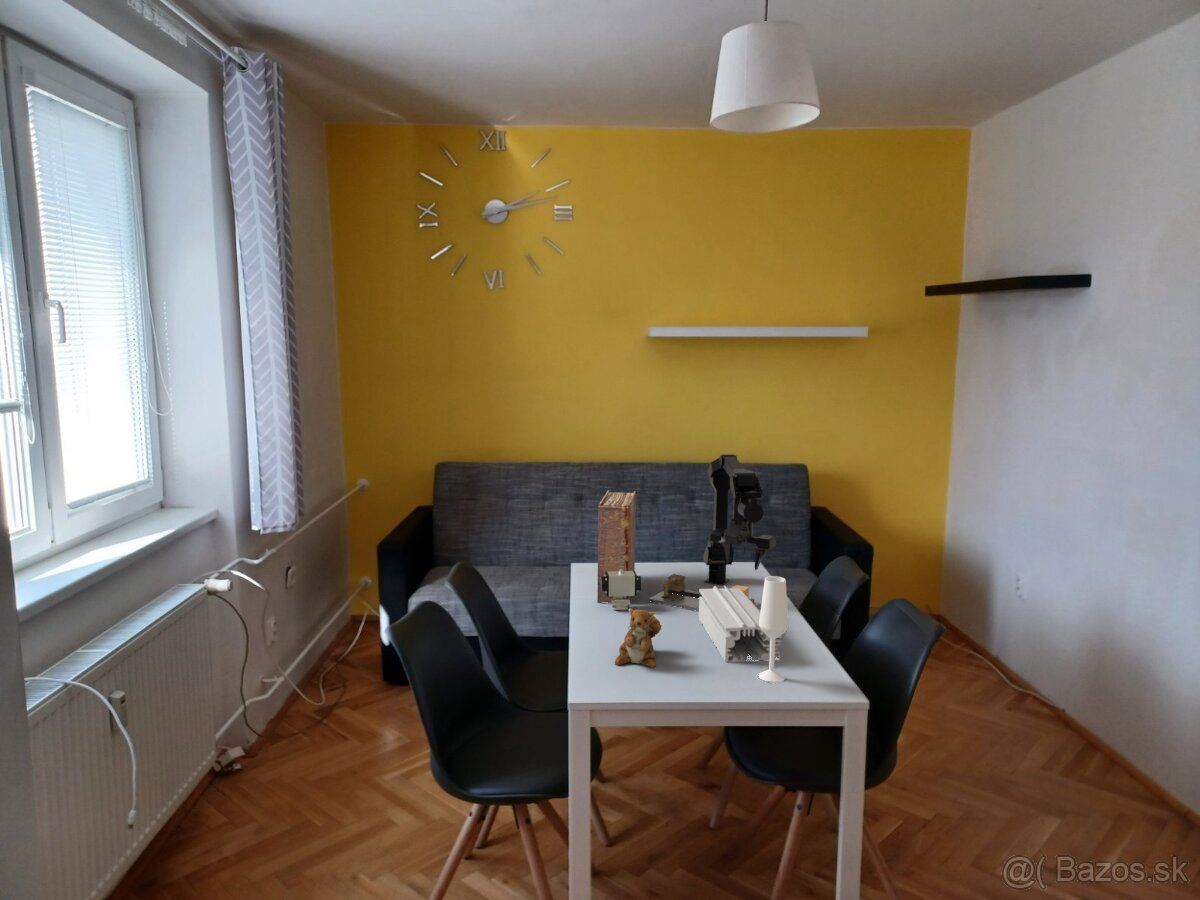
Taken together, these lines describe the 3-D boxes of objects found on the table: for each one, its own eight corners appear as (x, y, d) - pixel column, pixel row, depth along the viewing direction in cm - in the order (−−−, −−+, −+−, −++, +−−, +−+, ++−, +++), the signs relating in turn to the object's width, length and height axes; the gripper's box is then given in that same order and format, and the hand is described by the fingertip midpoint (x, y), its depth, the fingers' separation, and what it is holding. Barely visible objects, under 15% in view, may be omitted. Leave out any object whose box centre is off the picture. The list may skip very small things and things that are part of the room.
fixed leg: (673, 586, 251) (673, 573, 250) (684, 588, 249) (685, 575, 248) (658, 595, 242) (658, 582, 241) (670, 597, 240) (670, 584, 239)
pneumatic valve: (641, 611, 232) (641, 571, 230) (601, 612, 231) (601, 572, 229) (638, 604, 237) (639, 566, 236) (599, 605, 236) (600, 566, 235)
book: (607, 578, 264) (608, 489, 260) (634, 579, 263) (636, 490, 258) (597, 603, 239) (598, 505, 235) (627, 604, 238) (629, 506, 234)
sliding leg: (735, 598, 240) (736, 584, 240) (748, 600, 238) (749, 587, 238) (722, 607, 231) (723, 594, 231) (735, 610, 229) (736, 596, 229)
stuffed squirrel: (613, 666, 193) (613, 614, 191) (626, 645, 206) (627, 596, 204) (653, 671, 190) (654, 618, 188) (664, 649, 204) (665, 600, 202)
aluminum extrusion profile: (747, 618, 227) (748, 585, 226) (781, 661, 197) (782, 623, 196) (698, 620, 226) (699, 586, 225) (724, 663, 196) (726, 624, 195)
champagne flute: (753, 671, 190) (757, 575, 187) (781, 671, 191) (785, 574, 187) (761, 683, 184) (765, 583, 180) (789, 683, 184) (794, 583, 181)
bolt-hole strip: (661, 594, 247) (661, 591, 247) (733, 608, 235) (733, 604, 235) (649, 601, 240) (649, 598, 240) (723, 616, 228) (723, 612, 228)
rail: (669, 590, 251) (669, 583, 251) (754, 606, 237) (754, 598, 237) (665, 593, 249) (665, 585, 248) (750, 609, 234) (750, 601, 234)
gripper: (701, 516, 229) (700, 568, 231) (763, 524, 218) (761, 579, 221) (718, 509, 238) (716, 559, 240) (777, 517, 228) (775, 569, 230)
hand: (741, 567), depth 232 cm, fingers open, 9 cm apart
